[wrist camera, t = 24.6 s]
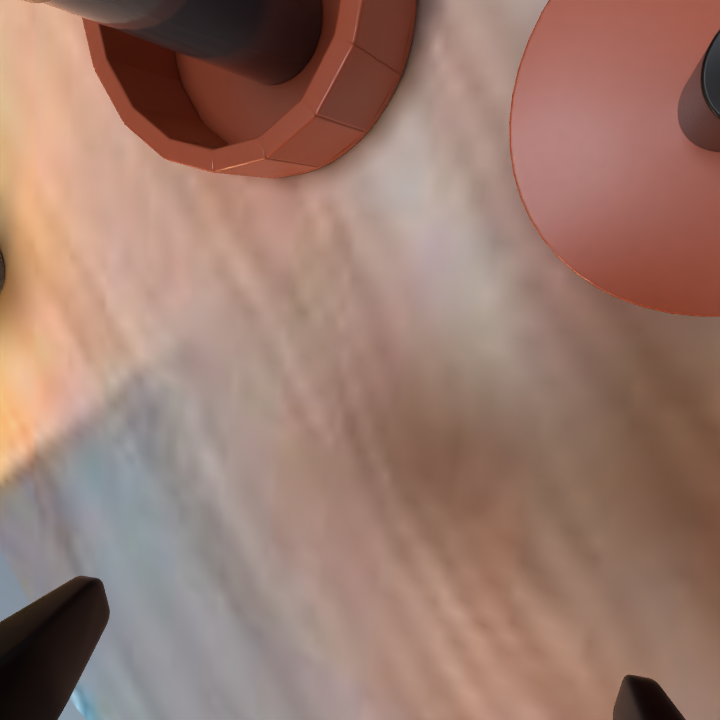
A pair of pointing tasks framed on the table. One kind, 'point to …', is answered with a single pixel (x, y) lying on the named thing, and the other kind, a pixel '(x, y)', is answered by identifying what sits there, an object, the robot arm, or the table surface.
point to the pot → (260, 94)
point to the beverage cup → (1, 272)
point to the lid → (625, 146)
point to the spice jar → (217, 30)
